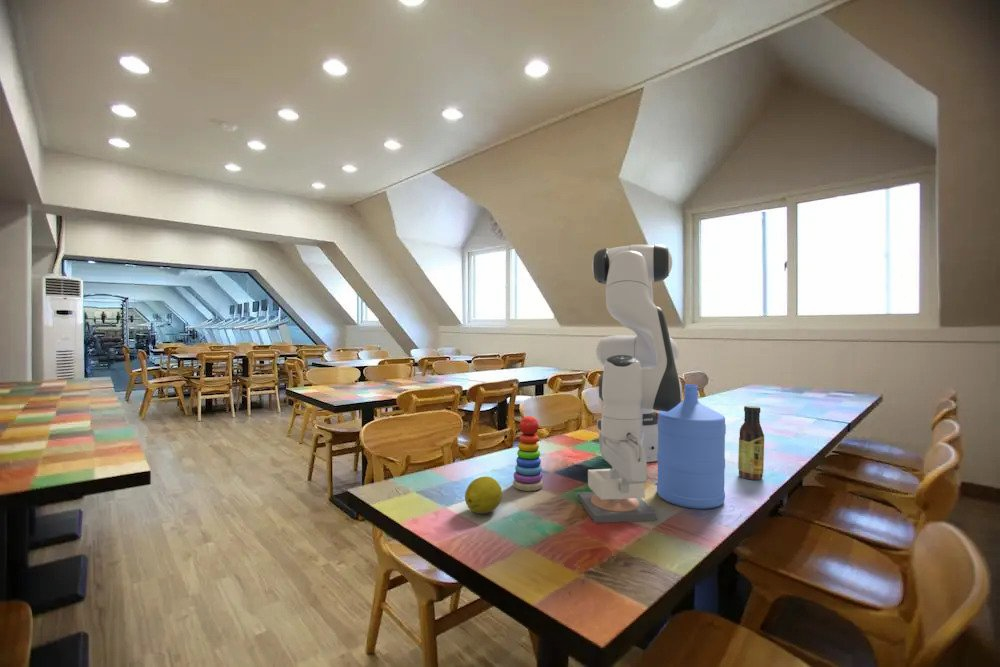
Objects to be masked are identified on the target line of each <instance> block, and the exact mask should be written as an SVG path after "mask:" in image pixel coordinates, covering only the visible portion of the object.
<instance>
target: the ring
mask: <svg viewBox="0 0 1000 667" xmlns="http://www.w3.org/2000/svg"><path fill="white" fill-rule="evenodd" d="M610 469H611V468H600V469H599V468H598V469H597V468H596V469H595V468H593V469H592V468H591V469H587V486H588V488H589V489H590V490H591V492H594V493H595V494H596V495H597V496H598V497H599V498H600V499H601V500H605V499H628V498H641V499H644V498H645V483H639V484H631V483H630V485H629V492H628V493H622V492H621V491H620V490H619V483H621V479H610Z"/></svg>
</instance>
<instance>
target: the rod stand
mask: <svg viewBox="0 0 1000 667" xmlns="http://www.w3.org/2000/svg"><path fill="white" fill-rule="evenodd" d="M609 469H610V479H614V475H613V471H612V468H609ZM577 499H578V501H579V500H580V501H579V503H580V504H581V503H582V504H581V505H582V506H584V507H585V508H584V507H583V508H584V509H585V511H586V510H587V511H586V512H587V514H588V515H589V517H590V518H591V520H592V519H593V520H592V521H593V522H594V523H595V524H596V523H597V524H600V523H601V522H602V523H617V522H619V523H621V522H643V521H656V520H657V512H656V511H655V510H654V509H653V508H652V507H651V506H649V505H648V503H647V502H645V501H644V500H643V498H628V499H605V500H601V499H600V498H599V497H598V496H597V495H596V494H595V493H594V492H593V491H578V492H577Z"/></svg>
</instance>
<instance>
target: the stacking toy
mask: <svg viewBox="0 0 1000 667" xmlns="http://www.w3.org/2000/svg"><path fill="white" fill-rule="evenodd" d="M539 428H540V426H539V421H538V419H537V418H536V417H534V416H531V415H528V416H526V415H525V416H524V417H522V419H521V420H520V422H519V429H520V431H521V433H522V434H520V435H519V438H518V439H519V443H518V444H517V447H518V450H517V453H516V454H517V457H516V460H515V462H516V465H515V467H514V468H515V472H513V478H514V479H513V481H512V486H513V487H514V488H516V489H517V490H519V491H523V492H533V491H534V492H535V491H538V490H541V489H542V488H543V487H544V481H543V480H542V478H543V474H542V469H543V468H542V465H541V463H542V462H541V461H542V459H541V458H540V456H541V451H540V450H539V447H540V445H539V443H538V441H539V436H538V435H537V434H536V433H537V432H538V430H539Z"/></svg>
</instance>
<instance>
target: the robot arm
mask: <svg viewBox="0 0 1000 667" xmlns="http://www.w3.org/2000/svg"><path fill="white" fill-rule="evenodd" d="M672 267H673V257H672V254H671V252H670V250H669V248H668V246H666V245H664V244H658V243H654V244H630V245H624V246H616V247H611V248H609V247H605V248H601V249H598V250H597V251H596V252H595V254H594V255H593V258H592V261H591V271H592V275H593V277H594V280H595V281H596V282H598V283H599V284H602V285H606V286H605V306H606V307H605V308H606V310H607V312H608V313H609V315H610V316H611V317H612V318H613V319H614V320H615V321H617V322H619V323H620V324H621V325H622V326H623V327H624V328H627V329H629V330H631V331H632V332H633V333H635V335H629V334H622V335H621V334H619V335H618V334H615V335H608V336H605V337H602V338H601V339H600V340H599V342H598V344H597V345H596V348H595V349H596V350H595V352H596V357H597V360H598V362H599V363H600V364H601V366H603V373H601V375H600V376H599V377H598V378H599V379H598V398H599V399H600V400H601V401H602V402H603V407H602V410H601V418H598V419H597V420H596V428H597V429H598V430H599V431H598V440H599V441H598V443H599V444H598V445H599V453H600V456H601V458H603V459H604V461H606V463H608V464H609V466H611V469H612V471H613V475H614V479H621V483H619V490H620V491H621V492H622V493H628V492H629V485H630V483H631V484H639V483H644V484H645V483H647V482H646V481H647V480H648V465H647V463H650V462H658V461H657V451H658V427H657V423H658V413H659V412H660V411H666V412H668V411H670V410H671V409H673V408H674V407H676V406H677V405H678V404H679V403H681V402H682V401H681V400H682V396H683V386H682V382H681V379H680V377H679V374H678V370H677V366H676V363H677V361H678V359H679V355H680V352H679V351H680V350H679V347H678V344H677V342H676V341H675V339H673V338H672V337H670V333H669V329H668V324H667V320H666V316H665V314H664V310H662V308H661V307H659V306H657V305H656V304H655V303H654V293H653V292H654V290H653V282H654V283H658V282H662V281H664V280H665V279H668V277H669V276H670V275H669V274H670V273H671V270H672ZM656 411H659V412H656Z"/></svg>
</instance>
